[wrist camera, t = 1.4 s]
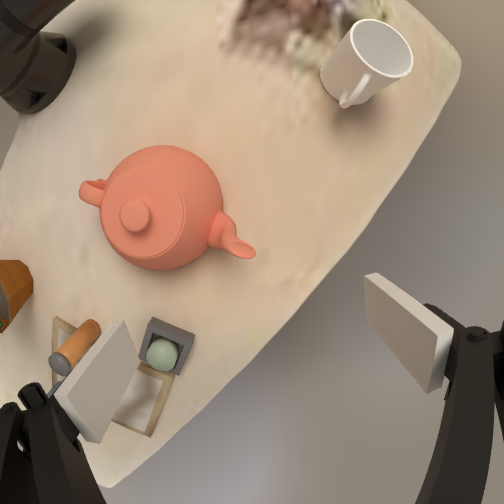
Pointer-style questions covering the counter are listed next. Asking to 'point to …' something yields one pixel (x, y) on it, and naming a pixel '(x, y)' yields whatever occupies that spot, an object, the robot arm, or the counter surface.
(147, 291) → the counter surface
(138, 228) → the teapot
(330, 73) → the mug
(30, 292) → the potted plant
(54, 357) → the orange marker
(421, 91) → the counter surface
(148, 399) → the clipboard
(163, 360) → the button
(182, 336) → the button base
